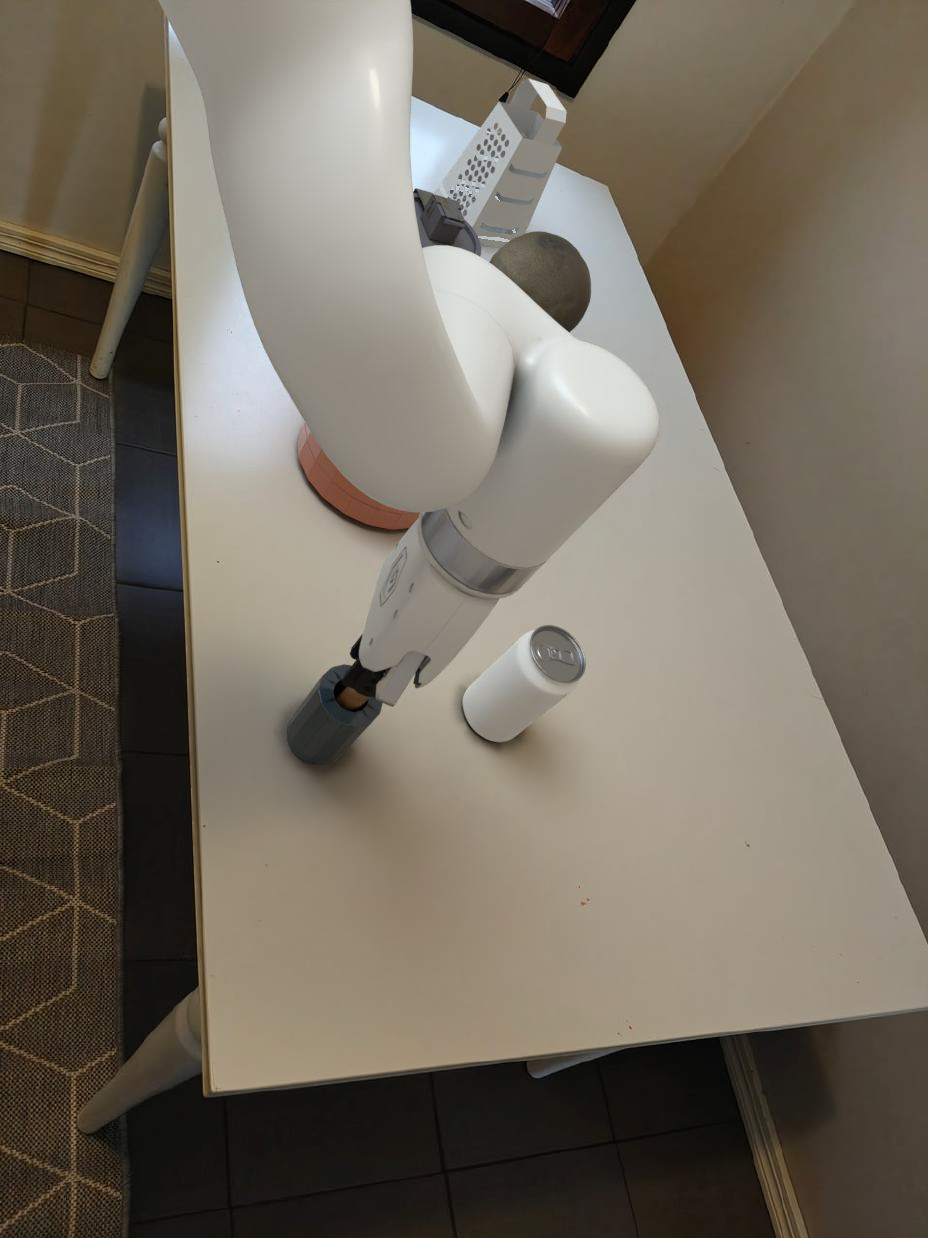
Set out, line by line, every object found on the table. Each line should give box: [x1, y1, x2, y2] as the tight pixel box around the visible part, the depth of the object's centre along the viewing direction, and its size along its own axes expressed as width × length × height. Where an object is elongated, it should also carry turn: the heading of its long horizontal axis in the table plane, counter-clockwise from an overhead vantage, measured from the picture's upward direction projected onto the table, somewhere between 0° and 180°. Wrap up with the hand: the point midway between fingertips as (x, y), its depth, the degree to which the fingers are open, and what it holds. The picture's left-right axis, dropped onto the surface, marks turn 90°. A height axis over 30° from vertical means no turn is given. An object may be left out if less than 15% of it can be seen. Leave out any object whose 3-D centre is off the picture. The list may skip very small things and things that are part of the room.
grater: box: [433, 78, 568, 249], centre depth 121 cm, size 10×10×20 cm
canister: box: [413, 187, 483, 257], centre depth 94 cm, size 11×10×20 cm
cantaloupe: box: [488, 230, 592, 334], centre depth 110 cm, size 14×14×15 cm
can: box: [462, 624, 587, 743], centre depth 77 cm, size 6×6×12 cm
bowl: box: [297, 420, 420, 530], centre depth 88 cm, size 16×16×6 cm
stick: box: [335, 687, 370, 712], centre depth 65 cm, size 2×2×16 cm
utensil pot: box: [286, 663, 384, 766], centre depth 68 cm, size 5×5×8 cm
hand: (365, 673), depth 63 cm, fingers closed on stick, 1 cm apart
